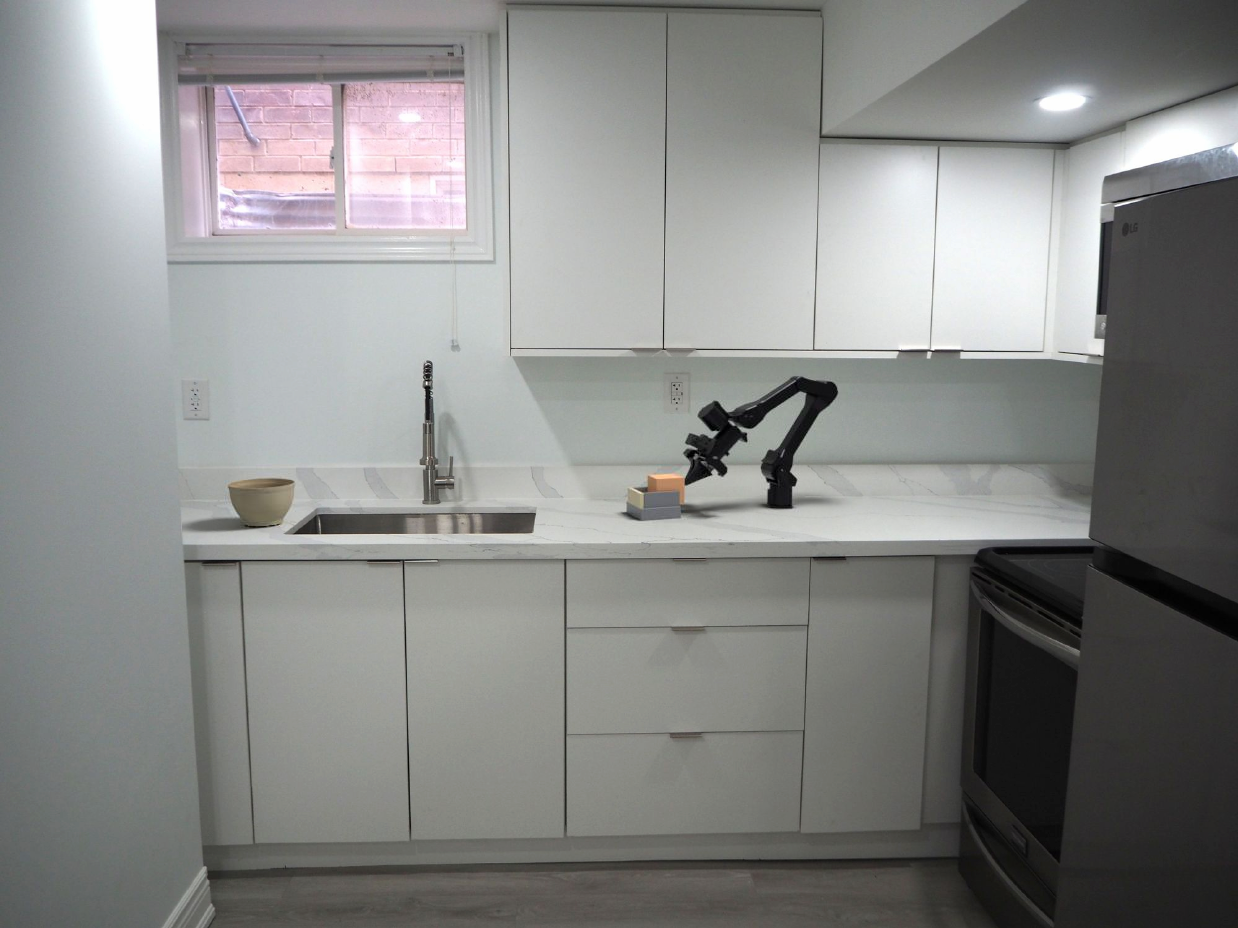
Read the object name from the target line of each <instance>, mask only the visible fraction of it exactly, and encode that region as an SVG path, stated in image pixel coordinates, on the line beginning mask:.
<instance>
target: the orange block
mask: <svg viewBox="0 0 1238 928" xmlns="http://www.w3.org/2000/svg"><path fill="white" fill-rule="evenodd" d="M685 477H686V476H685ZM685 477H684V476H682V475H679V474H677V473H664V474H647V487H648V492H665V491H680V503H679V505H680V504H685V487H686V486H685Z"/></svg>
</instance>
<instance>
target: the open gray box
mask: <svg viewBox="0 0 1238 928" xmlns="http://www.w3.org/2000/svg"><path fill="white" fill-rule="evenodd" d="M679 503H680V491H665V492H648V486H637V487H635V486H634V487H627V501H626V513H627V514H628V515H631V516H632V517H634V518H637V519H638V520H640V521H642V522H643V521H654V520H655V521H656V520H668V519H669V520H670V519H681V518H682V506H681V505H680V504H681V503H680V504H679Z"/></svg>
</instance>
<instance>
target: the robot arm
mask: <svg viewBox="0 0 1238 928" xmlns="http://www.w3.org/2000/svg"><path fill="white" fill-rule="evenodd" d="M799 393H803V394H805V398H804V399H805V400H804V405H803V407H802V409H801V410H800V412H799V414H798V415H797V417H796V418H795V420H794V421H793V423H792V425H791V427H790V428H789V430H788V431H787V433H786V435H785V437H784V438H783V439H782V441H781V443H780V445H779V446H778V447H777V448H776V449H775V450H773V449H768V450H767V452H766V454H765V456H764V457H763V458H762V459H761V460H760V461H761V465H760V470H761V471H760V472H761V474H762V475H763V477H764V478H765V481H766V483H767V484H769V487H768V488H767V490H766V491H767V492H766V494H767V495H766V503H767V505H768V507H769V508H776V509H777V508H780V509H781V508H782V509H783V508H785V509H787V508H788V509H793V507H794V506H793V487H796V486H797V482H798V478H797V477H796V476H795V475H794V474H793V473H792V472H791V470H792V468H793V465H794V458H795V457H794V456H795V454H796V452H797V451H798V449H799V447H800V446H801V444H802V442H803V441H804V439H805V437H806V436H807V434H808V433H809V431H811V428H812V426H813V425H814V423H815V421H816V420H817V418H818V416H819V415H820V413H821V412H823V411H824V410H826V409H827V408H828V407H830V406H831V404H832V403H834V401H835V400H836V399H837V396H838V394H839V390H838V386H837V385H836V383H835V382H833V381H829V380H820V379H817V380H813V379H809V378H806V377H804V376H797V375H794V376H793V375H792V376H791V377H789V379H787V380H786V381H784V383H782V384H780V385H779V386H778V387H776V388H774V389H773V390H770V391H769V392H768V393H767V394H765V395H763V396H762V397H760V398H759V399H757V400H754V401H750V402H748V403H745V404H742V405H740V406H737V407H735V409H734V410H733V411H726V410H725V409H724V407H723V406H722V405H721V403H720V401H718V400H713V401H712V402H711V403H708V404H706V405H705V406H704V407H702V408H701V409H700V410H699V412H698V413H697V418H698V419H699V420H700V421H701V422H702V423H703V424H704V426H705V427H706V428H707V429H708V430H709V431H710V432H716V434H715V435H714V436H713V437H709V436H708V435H706V434H703V433H701V434H699V435H697V434H695V433H690V432H689V433H688V435H687V437H686V439H685V441H684V444H685V445H687V446H691V447H693V448H690V447H689V448H686V449H685V450H684V451H683V452H682V455H683V456H684V457H685V458H686V459H687V460H688V461H689V462H690V463H689V464H690V466H689V468H688V471H687V473H686V475H685V487H686V486H689V485H691V484H694V483H697V482H699V481H701V480H703V479H705V478H708V477H713V475H714V474H713V473H712V472H713V471H714V470H715V471H716V472H717V476H719V477H721V478H724V477H725V476H726V475H727V473H728V467H727V466H726V464H725V463H724V462H723V461H722V459H724V457H729V456H730V454H731V453H730V451H731V449H732V448H733V447H734V446H735V445H736V444H737V443H738V442H739V441H740V442H742V443H748V441H749V440H748V432H745V431H742V430H741V429H740V428H742V429H747V430H752V429H754V428H756V427H757V426H758V425H759V424H760V423H761V422H763V420H764V419H765V417H766V416H767V415H768V414H769V413H770V412H771V411H773V410H774V409H776V408H777V407H779V406H780V405H781V404H783V403H785V402H786V401H788V400H789V399H791V398H792V397H794V396H795V395H797V394H799ZM731 422H732V423H733V424H734V425H733V424H732V423H731Z"/></svg>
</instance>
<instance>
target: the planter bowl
mask: <svg viewBox="0 0 1238 928" xmlns="http://www.w3.org/2000/svg"><path fill="white" fill-rule="evenodd" d="M295 486H296V481H295V480H293V479H289V478H282V477H281V478H280V477H278V478H277V477H275V478H274V477H264V478H263V477H262V478H260V477H259V478H258V477H257V478H250V479H249V478H248V479H247V478H246V479H242V480H235V481H231V482H229V483H228V484H227V488H228V491H229V492H228V493H229V498H230V501H231V504H232V507H233V508H234V511H235V512H236V514H237V515H238V517H239V518H240V519H241V520H242V524H243V525H244V526H245V525H248V526H247V527H249V526H267V525H275V526H278V525H277V524H279V525H281V524H283V522H284V518H285V517H286V516H287V513H288V512H289V511H290V509H291V507H292V504H293V501H294V497H295ZM267 527H268V526H267Z"/></svg>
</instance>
